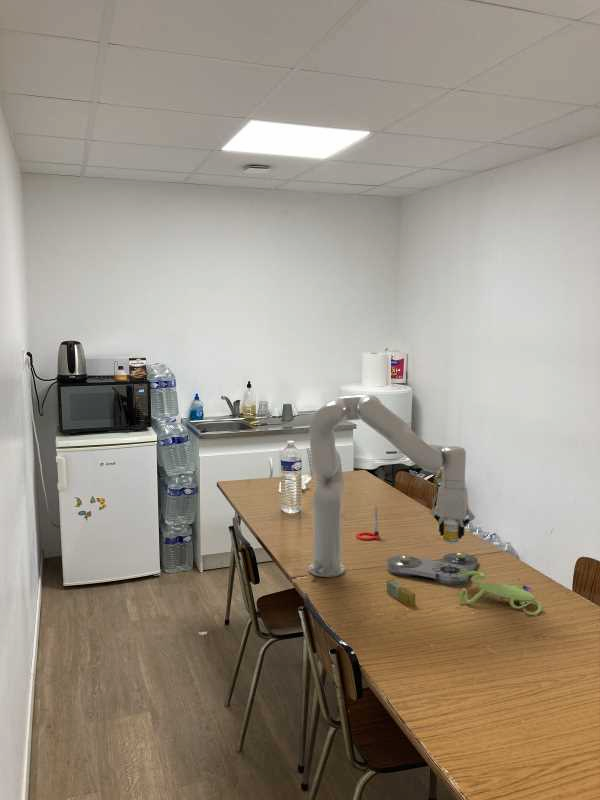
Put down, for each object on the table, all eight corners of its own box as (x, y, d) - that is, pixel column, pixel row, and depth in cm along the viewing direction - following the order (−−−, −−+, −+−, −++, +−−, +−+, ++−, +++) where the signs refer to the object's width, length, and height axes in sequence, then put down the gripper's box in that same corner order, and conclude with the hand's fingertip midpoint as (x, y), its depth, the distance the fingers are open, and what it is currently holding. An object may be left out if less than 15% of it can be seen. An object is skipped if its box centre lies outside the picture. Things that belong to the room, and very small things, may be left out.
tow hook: (355, 541, 264) (379, 541, 264) (354, 509, 263) (378, 509, 262) (355, 534, 272) (378, 534, 272) (354, 504, 271) (377, 503, 270)
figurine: (459, 582, 224) (459, 566, 223) (543, 595, 214) (544, 578, 213) (450, 604, 207) (450, 587, 206) (541, 619, 197) (542, 601, 196)
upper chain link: (463, 587, 218) (464, 573, 218) (382, 572, 231) (382, 559, 230) (471, 575, 229) (471, 561, 228) (393, 561, 241) (393, 548, 241)
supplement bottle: (447, 537, 228) (448, 510, 227) (462, 540, 225) (463, 513, 224) (440, 541, 224) (441, 513, 223) (454, 545, 221) (455, 516, 220)
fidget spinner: (480, 560, 243) (481, 551, 243) (463, 587, 218) (463, 577, 218) (448, 554, 249) (448, 545, 248) (427, 581, 224) (427, 571, 223)
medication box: (386, 592, 215) (386, 580, 214) (393, 590, 216) (393, 579, 216) (408, 607, 204) (409, 594, 204) (415, 605, 206) (416, 592, 205)
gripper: (424, 483, 223) (423, 535, 225) (476, 489, 215) (474, 543, 217) (430, 478, 229) (429, 529, 232) (481, 484, 222) (479, 536, 224)
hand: (451, 535), depth 224 cm, fingers closed on supplement bottle, 5 cm apart
